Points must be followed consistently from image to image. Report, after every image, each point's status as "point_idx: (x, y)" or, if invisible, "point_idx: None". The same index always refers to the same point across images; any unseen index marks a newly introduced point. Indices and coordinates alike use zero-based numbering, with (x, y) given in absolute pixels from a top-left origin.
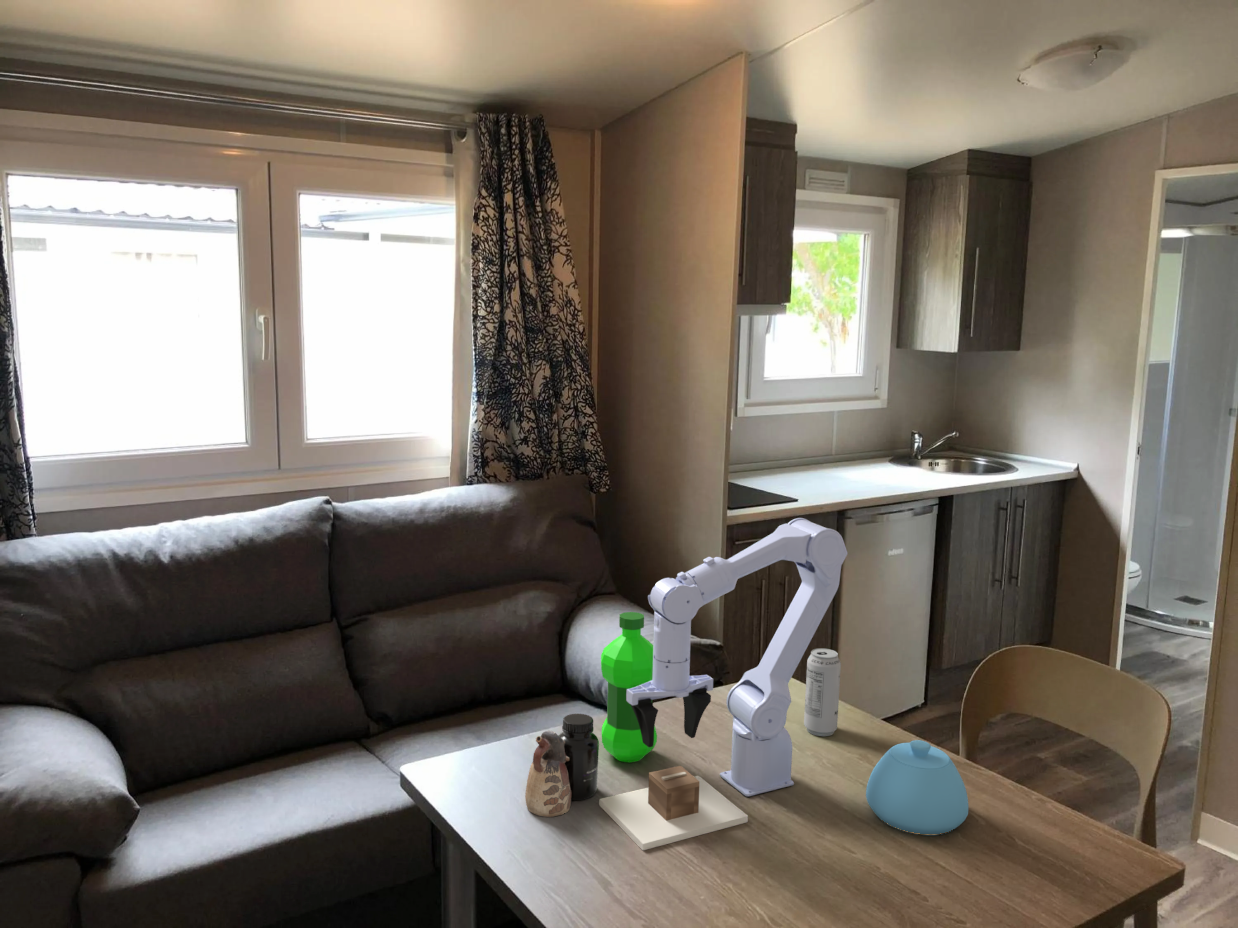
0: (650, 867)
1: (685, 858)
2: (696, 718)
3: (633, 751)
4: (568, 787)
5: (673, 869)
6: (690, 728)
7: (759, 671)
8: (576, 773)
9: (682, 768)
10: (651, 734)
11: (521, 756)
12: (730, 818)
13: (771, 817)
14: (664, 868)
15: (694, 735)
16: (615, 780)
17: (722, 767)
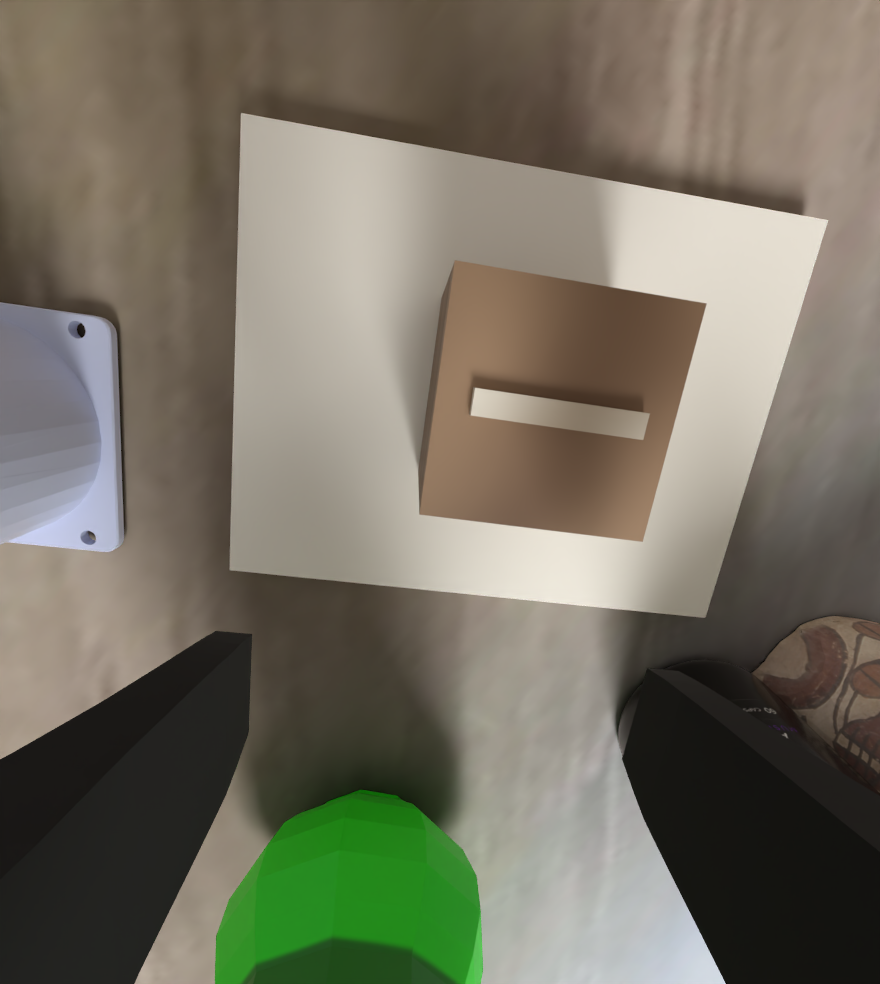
0: (873, 92)
1: (712, 51)
2: (83, 771)
3: (408, 822)
4: (876, 689)
5: (816, 7)
6: (214, 714)
7: None
8: (830, 749)
9: (432, 477)
10: (778, 745)
11: (673, 960)
12: (340, 151)
13: (112, 88)
14: (837, 43)
15: (213, 637)
16: (524, 715)
17: (66, 598)
